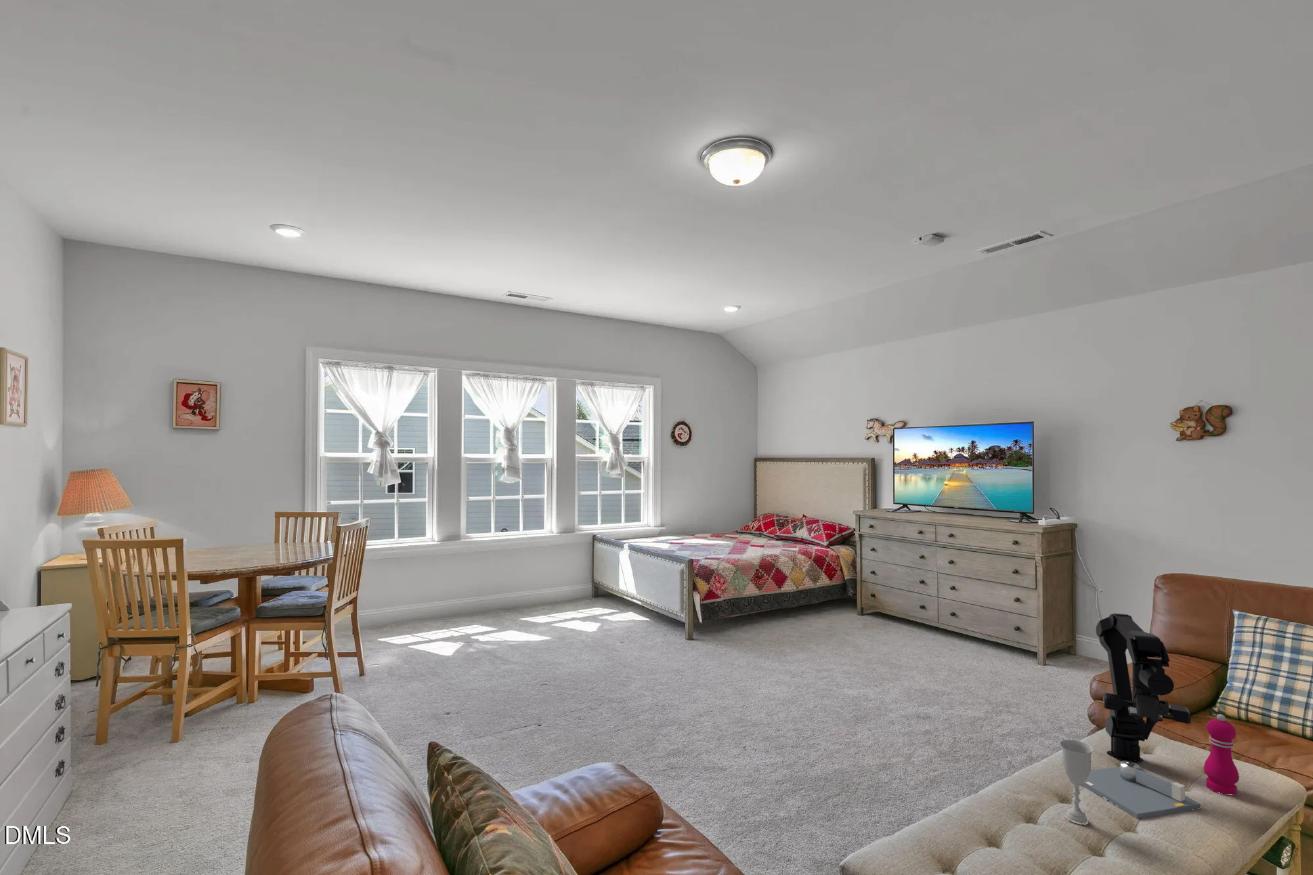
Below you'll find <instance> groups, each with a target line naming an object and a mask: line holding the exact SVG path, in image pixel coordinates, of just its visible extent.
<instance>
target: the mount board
mask: <svg viewBox="0 0 1313 875" xmlns="http://www.w3.org/2000/svg"><path fill="white" fill-rule="evenodd" d="M1081 786H1082V787H1083V788H1085V789H1087V790H1089V791H1090V792H1092V793H1093V794H1096V795H1097V794H1098V795H1097V796H1098V797H1100V796H1102V797H1105V798H1106V799H1108V800H1109V801H1111V802H1112V803H1114V804H1115V805H1117V806H1118V807H1117V806H1116V807H1117V808H1119V809H1120V810H1122V811H1124V812H1125V813H1127V814H1129V815H1131V816H1132V817H1133V818H1135V819H1138V820H1139V819H1143V818H1149V817H1150V818H1151V817H1156V816H1161V815H1169V814H1174V813H1175V814H1176V813H1181V812H1182V813H1183V812H1187V811H1188V810H1189V811H1193V810H1192V809H1195V810H1199V809H1198V808H1200V807H1201V806H1202V804H1201V803H1199V802H1198V801H1196V800H1194V799H1193V798H1190V797H1188V796H1187V795H1185V800H1184V801H1181V802H1180V801H1178V800H1176V799H1174V798H1172V797H1170V796H1167V795H1165V794H1163V793H1161V792H1158V791H1156V790H1154V789H1151V788H1149V787H1147V786H1145V785H1142V784H1140V783H1138V782H1133V781H1129V780H1126V779H1124V778H1122V777H1121V776H1120V766H1113V767H1107V768H1098V769H1091V771H1090V773H1089V775H1088V777H1087V779H1086V781H1085V782H1084V784H1083V785H1081ZM1102 797H1101V798H1102ZM1109 801H1108V802H1109ZM1112 803H1111V804H1112ZM1114 804H1113V805H1114ZM1115 805H1114V806H1115ZM1201 808H1202V807H1201Z"/></svg>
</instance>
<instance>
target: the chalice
mask: <svg viewBox="0 0 1313 875" xmlns="http://www.w3.org/2000/svg"><path fill="white" fill-rule="evenodd" d="M1059 745H1060V746H1061V748H1062V749H1061V750H1062V754H1061V756H1062V757H1061V758H1062V766H1063V769H1064V771H1065V774H1066V776H1067V778H1068V781H1069V782H1070V783H1071V784H1073V785H1074V787H1073V790H1072V792H1073V795H1074V796H1073V797H1072V801H1073V804H1074V805H1073V806H1070V807H1069V808H1068V809H1067V811H1066V813H1065V814H1066V815H1067V817H1068V818H1071V820H1074V821H1076V822H1079V823H1081V824H1082V823H1084V824H1085V823H1086V822H1087V820H1088V818H1087V815H1086V813H1085V811H1084V810H1082V809H1081V808H1080V802H1081V801H1082V800H1081V799H1080V797H1079V796H1080V795H1081V791H1080V789H1079V788H1080V786H1082V785H1083V784H1084V782H1085V781H1086V779H1087V777H1088V775H1089V773H1090V771H1091V770H1092V753H1093V752H1094V747H1092V746H1091V745H1090V744H1088V743H1086V742H1084V741H1080V740H1076V739H1075V740H1074V739H1065V740H1064V739H1063V740H1061V741H1060V742H1059Z"/></svg>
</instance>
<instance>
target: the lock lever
mask: <svg viewBox="0 0 1313 875" xmlns="http://www.w3.org/2000/svg"><path fill="white" fill-rule="evenodd" d="M1119 761H1120V762H1119V767H1120V776H1121V777H1122V778H1124V779H1126V780H1129V781H1133V782H1138V783H1140V784H1142V785H1145V786H1147V787H1149V788H1151V789H1154V790H1156V791H1158V792H1161V793H1163V794H1165V795H1167V796H1170V797H1172V798H1174V799H1176V800H1178V801H1180V802H1181V801H1184V800H1185V796H1186V785H1184V784H1181V783H1179V782H1177V781H1174V780H1171V779H1169V778H1166V777H1164V776H1162V775H1159V774H1158V773H1155V772H1153V771H1150V770H1147V769H1145V768H1143V767H1141V766H1140V765H1139V764H1138V763H1137V762H1132V761H1121V760H1119Z"/></svg>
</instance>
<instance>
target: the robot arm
mask: <svg viewBox="0 0 1313 875" xmlns="http://www.w3.org/2000/svg"><path fill="white" fill-rule="evenodd" d="M1095 634H1096V636H1097V637H1098V640H1099V644H1100V646H1102V647H1103V649H1104V650H1105V651H1106V653H1107V659H1108V665H1109V666H1108V667H1109V673H1110V674H1109V675H1110V679H1111V686H1112V693H1110V692H1109V693H1108V692H1105V693H1103V694H1102V695H1103V696H1102V697H1103V698H1102V702H1103V709H1106V710H1109V716H1108V718H1107V720H1106V721H1105V723H1104V726H1105V732H1106V733H1107V735H1108V736H1109V737H1110V750H1107V751H1106V754H1107V755H1110V756H1111V757H1113V758H1115V759H1117V760H1119V761H1132V762H1134V763H1139V762H1143V761H1144V758H1142V757H1141V746H1140V742H1145V740H1146V741H1148V739H1149V736H1150V735H1151V733H1152V730H1153V729H1154V726H1155V725H1156V724H1157V723H1158V722H1160V723H1161V722H1163V721H1164V718H1163V717H1165V716H1171V718H1172V719H1173V720H1174V721H1175V722H1177V723H1182V724H1191V720H1192V719H1191V718H1192V717H1191V713H1190V711H1189V709H1188V708H1187V707H1186V706H1185V705H1178V704H1174V703H1169V701H1167V700H1161V699H1160V698H1159V696H1167V695H1169V694H1171V693H1172V692H1173V691H1174V688H1175V683H1174V681H1173V679H1172V678H1171V677H1170V676H1169V675H1168V674H1167V673H1166V672H1165V668H1169V667H1170V661H1171V660H1170V656H1169V654H1168V652H1167V648H1166V646H1165V644H1164V642H1163V640H1161V638H1160V637H1159V636H1157V635H1155V634H1154V633H1149V632H1145V631H1144V630H1143V629H1142V628H1141V627H1140V625H1138V624H1137V623H1136V622H1135V621H1134V620H1133V618H1132V616H1131V615H1129V614H1127V613H1110V614H1109V616H1108V617H1105V618H1103V619H1100V620H1099V621H1098V623H1097V624H1096V626H1095ZM1126 651H1128V653H1129V656H1130V659H1131V661H1132V662H1131V665H1132V667H1131V668H1132V669H1131V670H1132V671H1131V672H1132V673H1131V674H1132V675H1131V676H1132V677H1130V673H1129V667H1128V666H1129V665H1128V660H1127V654H1126ZM1164 667H1165V668H1164ZM1130 678H1132V680H1130ZM1131 683H1132V685H1131ZM1144 718H1146V720H1144Z"/></svg>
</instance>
